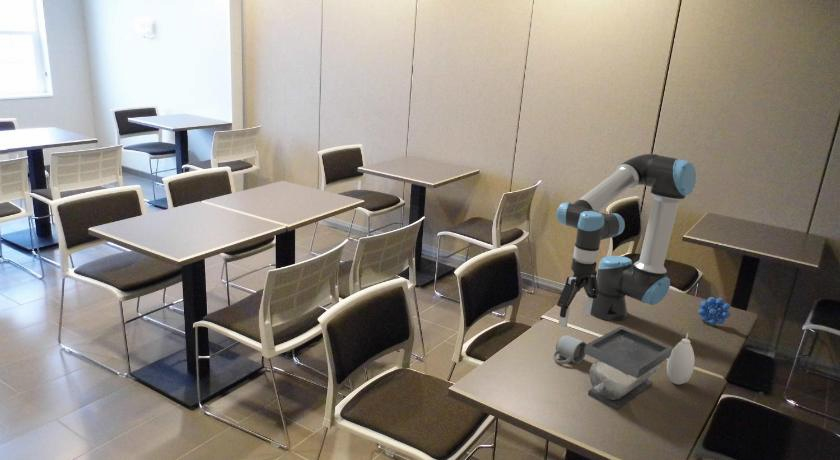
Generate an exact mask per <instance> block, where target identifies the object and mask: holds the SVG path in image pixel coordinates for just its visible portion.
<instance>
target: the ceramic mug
mask: <svg viewBox="0 0 840 460" xmlns="http://www.w3.org/2000/svg"><path fill="white" fill-rule="evenodd" d="M586 344H587V343H586V342H585V341H583V340H581V339H578V338H576V337H573V336H570V335H567V334H566V335H565V334H564V335H561V336H560V337H559V338H558V339H557V341H556V343H555V352H553V360H554V362H555V363H556V364H558V365H567V364H569V363H570V362H571V363H573V364H579V363H581V362H583V360H584V359H585V357H586V355H587V354H585V353H584V350H585V345H586ZM557 355H559V356H561V357H563V358H564V360H558V358H557Z"/></svg>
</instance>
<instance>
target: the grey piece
mask: <svg viewBox="0 0 840 460" xmlns="http://www.w3.org/2000/svg"><path fill="white" fill-rule="evenodd" d="M672 350H673V348H672V347H670V346H667V345H665V344H663V343H660V342H658V341H655V340H654V339H651V338H648V337H646V336H644V335H641V334H639V333H636V332H634V331H633V330H632V331H631V330H630V329H627V328H625V327H622V326H619V327H617V328H614V329H613V330H612V331H611V330H610V332H609V331H608V332H607V333H606V334H603V335H601V336H600V337H598V338H595V339H594V340H592V341H590V342H588V343H586V345H585V350H584V353H585V354H586V355H587V356H589V357H591V358H593V359H595V360H596V361H595V362H593V364H591V366H590V367H589V368H590V369H589V374H588V375H589V380H590V383H591V386H592V388H590V389H589V390H588V392H587V395H588V396H590V397H592V398H593V399H595V400H597V401H599V402H601V403H603V404H605V405H606V406H609V407H611V408H613V409H614V410H616V411H618V410H620V409H622V408H623V407H624V406H626V405H627V404H628V403H630V402H632V401H633V400H634V399H636V398H637V397H638V396H640V395H641V394H643V393H644V392H646V391H647V390H648V389H650V388H651V387H652V386H653V383H654V381H652V380H649V379H650V378H652V377H653V376H654V375H656V374H657V372H658V370H659V367H660V364H662V363H663V362H665V361H666V360H668V358H669V357H670V356H671V352H672Z"/></svg>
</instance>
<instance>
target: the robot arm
mask: <svg viewBox="0 0 840 460" xmlns="http://www.w3.org/2000/svg"><path fill="white" fill-rule="evenodd" d="M696 171H697V170H696V168H695V165H694V164H693V163H692V162H690V161H687V160H685V159H684V160H683V159H682V158H681V159H680V158H676V157H670V156H664V155H658V154H654V153H646V154H640V155H637V156H634V157H632V158H630V159H626V160H625V161H624V162H622V163H621V164H620V165H618V166H617V167H616V168H615V171H614V172H613V173H612V174H610V175H609V176H608V177H607V178H605V179H604V180H603V181H601V182H600V183H598V184H597V185H596V186H594V187H593V188H592V189H590V190H589V191H588V192H587V193H585V194H584V195H583V196H581V197H580V198H579V199H577V200H576V201H575V202H573V203H572V202H562V203H560V204H559V206H558V207H557V210H556V220H557V221H558V222H559V223H560V224H563V225H565V226H567V227H570V228H574V229H576V237H575V244H574V247H573V249H574V250H573V254H572V255H573V258H572V261H571V267H570V268H571V269H570V270H571V271H572V272H573V275H572V277H571V276H567V277H566V281H565V284H564V287H563V289H562V291H561V294H560V296H559V299H558V300H557V301H558V302H557V304H556V306H557V307H560V311H559V317H558V318H559V319H558V325H560V326H562V327H564V328H567V327H568V322H569V315H570V310H571V309H570V305H571V304H572V302H573V300H574V298H575V297H576V295H577V293H578V292H579V291H581V289H582V288H583V289H584V292H585V294H586V295H585V296H584V299H583V306H582V311H581V314H582V315H584V316H586V317H588V318H589V317H591V315H592V316H594V317H595V318H598V319H600V320H605V321H615V322H616V321H622V320H625V319H626V317H627V315H628V309H627V301H626V297H629V298H632V299H635V300H636V301H639V302H641V303H644V304H648V305H651V306H655V305H658V304H659V303H660V302H662V300H664V298H665V297H666V295H667V294H668V292H669V290H670V288H671V279H670V278H669V277H668V276H666V275H667V269H666V267H665V266H664V265H665V261H666V258H667V257H666V256H667V252H668V248H669V244H670V240H671V235H672V233H673V228H674V223H675V220H676V215H677V212H678V207H679V204H680V202H681V203H682V201H685V198H686V196H689V195H691V194H692V192H693V191H694V189H695V185H696V181H697V173H696ZM639 185H640V186H641V185H643V186H647V187H651V189H650V195H651V196H652V197H653V199H652V204H651V207H650V208H651V209H650V213H649V217H648V221H647V225H646V229H645V234H644V237H643V239H644V240H643V242H642V246H641V251H640V256H639V260H637V261H635V262H634V263H633V261H632V259H631V258H629V257H628V256H627V257H626V256H622V255H621V256H620V255H608V256H604V257H602V258H601V259H600V261H599V264H598V267H597V262H598V258H599V252H600V246H601V241H602V240H607V239H610V238H616V237H618V236H619V235H621V234H622V233H623V232H624V230H625V228H626V227H625V226H626V224H625V219H624V218H623V217H622V215H620V214H619V213H612V212H610V213H605V212H604V213H603V212H602V211H601V210H602V209H604V208H605V207H607V206H608V205H609V204H610V203H612V202H613V201H614V200H615V199H617V198H618V197H619V196H620V195H623V193H625V192H627V190H628V189H634V188H635V187H636V186H639ZM596 269H598V270H597V271H596Z"/></svg>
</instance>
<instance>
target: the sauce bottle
mask: <svg viewBox="0 0 840 460" xmlns="http://www.w3.org/2000/svg"><path fill="white" fill-rule="evenodd" d="M688 337H689V332H687V333H686V335H685V338H682V339H681V340H680V341H679V342H678V343H677V344H675V346H674V347H673V348H672V352H671V356H670V357H669V358H668V359H667V362H666V373H667V378H668V379H669V380H670V381H671V382H672V383H673V384H674V385H682V384H685V383H687V382H688V381H689V380H690V378H691V377H692V376H693V373H694V369H695V364H696V363H695V359H696V358H695V353H694V348H693V346H692V344H691V340H690V339H688Z"/></svg>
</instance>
